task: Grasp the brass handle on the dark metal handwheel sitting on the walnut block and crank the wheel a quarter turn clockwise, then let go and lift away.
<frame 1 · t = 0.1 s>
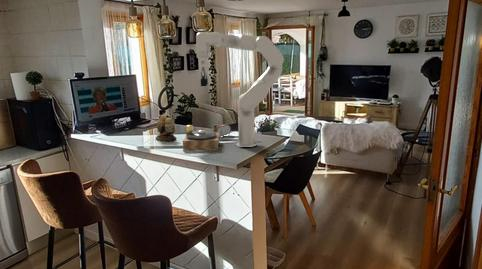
hand: (204, 85, 202), 37 cm above the table, tool pointing down, fingers open, 9 cm apart
tin: (222, 137, 234), on the table
handwheel: (201, 130, 208), point 10 cm above the table, hinge at 0.0°
wheel block: (201, 146, 210), on the table
owl figurine: (166, 139, 230), on the table
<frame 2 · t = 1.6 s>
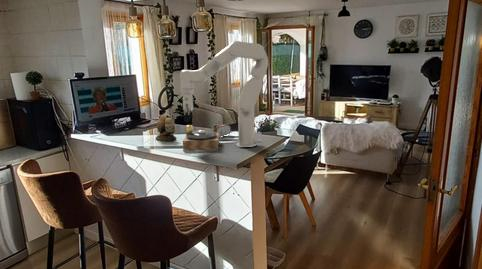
hand: (188, 120, 207), 16 cm above the table, tool pointing down, fingers open, 9 cm apart
nothing on the table moved.
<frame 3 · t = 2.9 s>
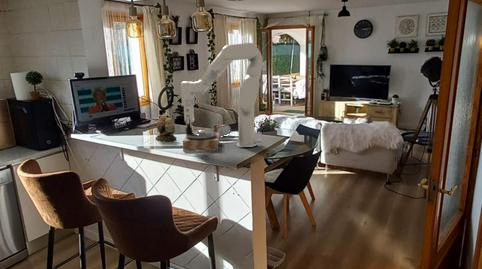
hand: (189, 132, 208), 9 cm above the table, tool pointing down, fingers closed on handwheel, 4 cm apart
handwheel: (201, 130, 208), point 10 cm above the table, hinge at 0.0°, touching gripper
everything else where it was.
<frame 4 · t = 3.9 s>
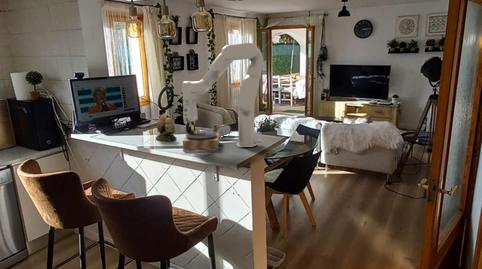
hand: (190, 131, 211), 9 cm above the table, tool pointing down, fingers closed on handwheel, 4 cm apart
handwheel: (201, 130, 208), point 10 cm above the table, hinge at -18.9°, touching gripper
everything else where it was.
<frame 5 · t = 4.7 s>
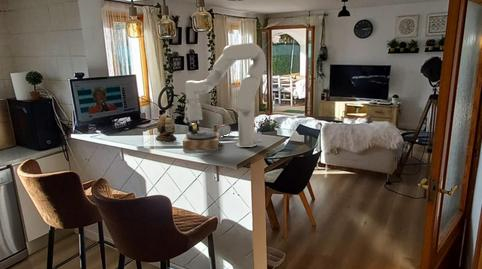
hand: (193, 130, 213), 9 cm above the table, tool pointing down, fingers closed on handwheel, 4 cm apart
handwheel: (201, 130, 208), point 10 cm above the table, hinge at -44.1°, touching gripper
everything else where it was.
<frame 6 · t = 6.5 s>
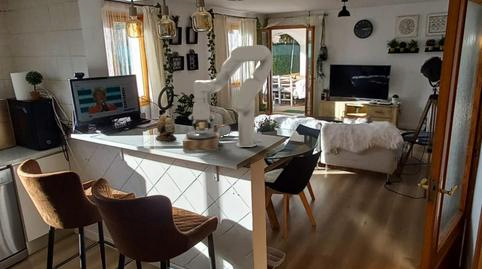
hand: (202, 129, 215), 9 cm above the table, tool pointing down, fingers open, 7 cm apart
handwheel: (201, 130, 208), point 10 cm above the table, hinge at -88.6°
everything else where it was.
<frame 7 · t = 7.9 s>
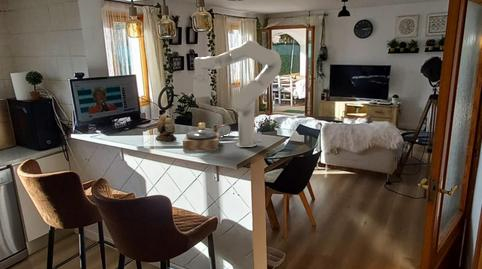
hand: (203, 106, 213), 23 cm above the table, tool pointing down, fingers open, 9 cm apart
nothing on the table moved.
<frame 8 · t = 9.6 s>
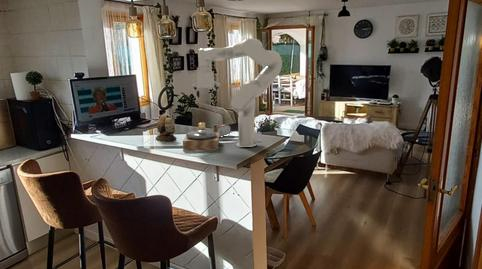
hand: (206, 97, 216), 28 cm above the table, tool pointing down, fingers open, 9 cm apart
nothing on the table moved.
at the end: handwheel at -89° (first picture: +0°) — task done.
